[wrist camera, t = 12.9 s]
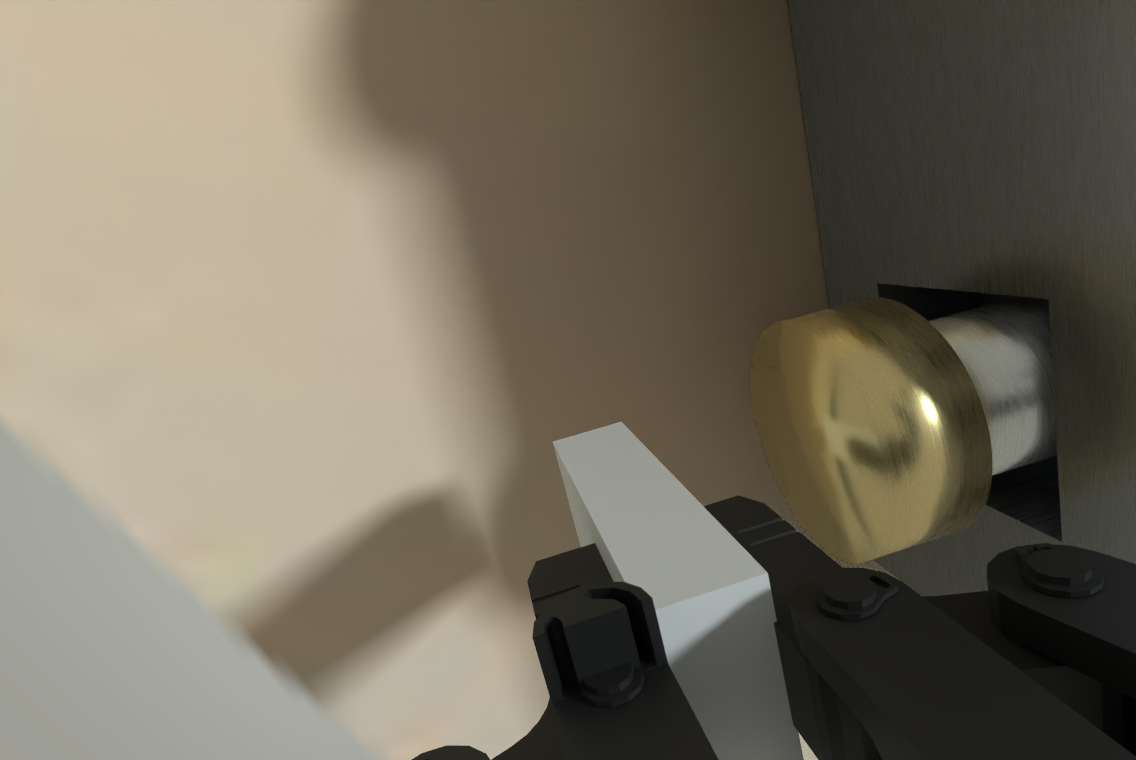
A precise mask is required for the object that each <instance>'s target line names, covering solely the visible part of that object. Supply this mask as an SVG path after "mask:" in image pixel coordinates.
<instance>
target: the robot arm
mask: <svg viewBox="0 0 1136 760" xmlns="http://www.w3.org/2000/svg"><path fill="white" fill-rule="evenodd" d="M553 445H554V449H555V453H556V457H557V460H558V464H559V468H560V472H561V475H562V479H563V483H564V487H565V491H566V494H567V498H568V502H569V506H570V509H571V513H572V517H573V521H574V524H575V528H576V532H577V536H578V540H579V543H580V547H581V548H577V549H574V550H571V551H568V552H565V553H561V554H558V555H555V556H552V557H549V558H546V559H542V560H539V561H536V563H535V565H534V568H533V570H532V572H531V574H530V577H529V579H528V581H527V582H528V586H529V590H530V595H531V599H532V603H533V608H534V612H535V617H536V620H535V622H534V629H533V640H534V644H535V647H536V651H537V654H538V657H539V661H540V664H541V668H542V671H543V674H544V678H545V681H546V685H547V688H548V691H549V695H550V699H549V702H548V706H547V709H546V710H545V712H544V714H543V715H542V717H541V719H540V720H539V722H538V723H537V724H536V725H535V726H534V727H533V729H532V730H531V731H530V732H529V733H528V734H527V735H526V736H525V737H523V738H522V739H521V740H519V741H518V742H517V743H516V744H514V745H513V746H512V747H510V748H509V749H507V750H506V751H504V752H503V753H501V754H499V755H498V756H496V757H495V758H493V759H492V760H803V755H802V750H801V744H800V739H799V734H798V732H799V733H800V734H801V736H802V737H803V739H804V740H805V741H806V743H807V744H808V746H809V747H810V748H811V750H812V751H813V753H814V754H815V755H816V757H817V758H818V760H1136V564H1134V563H1131V562H1128V561H1125V560H1121V559H1118V558H1115V557H1112V556H1109V555H1106V554H1103V553H1100V552H1096V551H1092V550H1088V549H1083V548H1079V547H1075V546H1070V545H1056V544H1049V543H1041V544H1033V545H1025V546H1017V547H1014V548H1011V549H1009V550H1006V551H1003V552H1001V553H998V554H997V555H996V556H995V557H994V558H993V559H992V560H991V561H990V562H989V563H988V564H987V584H988V591H980V592H970V593H961V594H951V595H941V596H921V595H919V594H918V593H917V592H915V591H914V590H913V589H911V588H910V587H909V586H907V585H906V584H905V583H903V582H902V581H900V580H898V579H896V578H894V577H892V576H890V575H888V574H886V573H883V572H878V571H874V570H869V569H865V568H842V567H841V566H840V565H838V564H837V563H836V562H835V561H833V560H832V559H831V558H830V557H829V556H827V555H826V554H825V553H824V552H823V551H821V550H820V549H819V548H818V547H816V546H815V545H814V544H813V543H812V542H810V541H809V540H808V539H807V538H806V537H804V536H803V535H802V534H801V533H799V532H796V530H795V528H793V527H792V526H791V525H790V524H789V523H787V522H786V521H785V520H784V521H782V519H781V517H780V516H779V515H778V514H776V513H775V512H774V511H773V510H772V509H770V508H769V507H768V506H767V505H765V504H764V503H761V502H758V501H755V500H751V499H748V498H745V497H742V496H739V495H738V496H735V497H732V498H729V499H726V500H723V501H719V502H716V503H713V504H710V505H707V506H703V505H702V504H701V503H700V502H699V501H698V500H697V499H696V498H695V497H694V496H693V495H692V494H691V493H690V492H689V491H688V490H687V489H686V488H685V487H684V486H683V485H682V484H681V483H680V482H679V481H678V480H677V479H676V478H675V476H674V475H673V474H672V473H671V472H670V471H669V470H668V469H667V468H666V467H665V466H664V465H663V464H662V463H661V462H660V461H659V460H658V459H657V458H656V457H655V456H654V455H653V454H652V453H651V452H650V451H649V450H648V449H647V448H646V446H645V445H644V444H643V443H642V442H641V441H640V440H639V439H638V438H637V437H636V436H635V435H634V434H633V433H632V432H631V431H630V430H629V429H628V428H627V427H626V426H625V425H624V424H623V423H622V422H618V423H615V424H611V425H608V426H604V427H601V428H597V429H594V430H591V431H587V432H584V433H580V434H577V435H574V436H570V437H567V438H563V439H560V440H557V441H553ZM412 760H490V759H489V757H488V756H487V754H485V753H483V752H481V751H479V750H477V749H475V748H473V747H470V746H444V747H441V748H437V749H434V750H431V751H428V752H425V753H422V754H420V755H419V756H417V757H415V758H414V759H412Z"/></svg>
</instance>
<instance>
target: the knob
mask: <svg viewBox="0 0 1136 760" xmlns="http://www.w3.org/2000/svg"><path fill="white" fill-rule="evenodd" d="M751 396H752V404H753V411H754V416H755V421H756V426H757V430H758V434H759V437H760V441H761V444H762V447H763V450H764V453H765V456H766V459H767V462H768V464H769V467H770V469H771V471H772V474H773V476H774V478H775V481H776V483H777V485H778V487H779V489H780V491H781V493H782V495H783V497H784V498H785V500H786V502H787V504H788V505H789V507H790V509H791V510H792V512H793V513H794V515H795V516H796V518H797V519H798V521H799V522H800V524H801V525H802V526H803V527H804V529H805V530H806V531H807V533H808V534H809V535H810V536H811V537H812V538H813V539H814V540H815V541H816V542H817V543H818V544H819V545H820V546H821V547H822V548H823V549H824V550H826V551H827V552H828V553H830V554H831V555H833V556H834V557H836V558H838V559H840V560H842V561H845V562H848V563H862V562H866V561H869V560H872V559H875V558H878V557H881V556H884V555H888V554H891V553H894V552H897V551H900V550H903V549H906V548H909V547H912V546H916V545H919V544H922V543H925V542H928V541H931V540H934V539H937V538H940V537H943V536H947V535H950V534H953V533H956V532H959V531H961V530H963V529H965V528H967V527H968V526H970V525H971V524H972V523H973V522H974V521H975V520H976V519H977V517H978V516H979V515H980V513H981V512H982V510H983V508H984V506H985V503H986V501H987V499H988V495H989V491H990V487H991V480H992V476H993V475H996V474H999V473H1002V472H1006V471H1009V470H1012V469H1015V468H1018V467H1022V466H1025V465H1028V464H1031V463H1034V462H1038V461H1041V460H1044V459H1047V458H1050V457H1053V456H1057V443H1056V425H1055V407H1054V389H1053V372H1052V354H1051V336H1050V318H1049V300H1048V299H1044V298H1033V297H1022V296H1017V297H1013V298H1009V299H1006V300H1002V301H999V302H995V303H991V304H988V305H984V306H981V307H977V308H973V309H970V310H966V311H963V312H959V313H955V314H952V315H948V316H945V317H941V318H937V319H934V320H930V321H928V320H926V319H925V318H924V317H923V316H921V315H920V314H919V313H917V312H916V311H914V310H913V309H911V308H909V307H908V306H906V305H904V304H902V303H899V302H897V301H894V300H891V299H886V298H876V297H872V298H867V299H862V300H858V301H855V302H851V303H847V304H844V305H840V306H836V307H833V308H829V309H825V310H822V311H818V312H814V313H810V314H807V315H803V316H799V317H796V318H792V319H788V320H785V321H781V322H777V323H774V324H772V325H770V326H768V327H767V328H766V329H765V330H764V331H763V332H762V334H761V335H760V336H759V338H758V340H757V343H756V345H755V348H754V352H753V356H752V363H751Z"/></svg>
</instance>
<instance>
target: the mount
mask: <svg viewBox="0 0 1136 760" xmlns="http://www.w3.org/2000/svg"><path fill="white" fill-rule="evenodd" d="M787 1H788V8H789V16H790V23H791V30H792V37H793V45H794V52H795V59H796V67H797V74H798V81H799V88H800V96H801V103H802V110H803V118H804V125H805V132H806V139H807V147H808V154H809V161H810V169H811V176H812V183H813V190H814V198H815V205H816V212H817V219H818V227H819V234H820V241H821V249H822V256H823V263H824V270H825V278H826V285H827V292H828V300H829V307H830V308H833V307H836V306H840V305H844V304H847V303H851V302H855V301H858V300H862V299H867V298H872V297H876V298H886V299H891V300H894V301H897V302H899V303H902V304H904V305H906V306H908V307H909V308H911V309H913V310H914V311H916V312H917V313H919V314H920V315H921V316H923V317H924V318H925V319H926V320H928V321H930V320H934V319H937V318H941V317H945V316H948V315H952V314H955V313H959V312H963V311H966V310H970V309H973V308H977V307H981V306H984V305H988V304H991V303H995V302H999V301H1002V300H1006V299H1009V298H1013V297H1017V296H1022V297H1033V298H1044V299H1048V300H1049V318H1050V336H1051V354H1052V372H1053V389H1054V407H1055V425H1056V443H1057V456H1053V457H1050V458H1047V459H1044V460H1041V461H1038V462H1034V463H1031V464H1028V465H1025V466H1022V467H1018V468H1015V469H1012V470H1009V471H1006V472H1002V473H999V474H996V475H993V476H992V480H991V487H990V491H989V495H988V499H987V501H986V503H985V506H984V508H983V510H982V512H981V513H980V515H979V516H978V517H977V519H976V520H975V521H974V522H973V523H972V524H971V525H970V526H968V527H967V528H965V529H963V530H961V531H959V532H956V533H953V534H950V535H947V536H943V537H940V538H937V539H934V540H931V541H928V542H925V543H922V544H919V545H916V546H912V547H909V548H906V549H903V550H900V551H897V552H894V553H891V554H888V555H884V556H881V557H878V558H875V559H873V560H874V561H876V562H877V563H878V564H880V565H881V566H882V567H884V568H885V569H886V570H888V571H889V572H890V573H892V574H893V575H894V576H896V577H897V578H898V579H900V580H901V581H902V582H904V583H905V584H906V585H908V586H909V587H910V588H912V589H913V590H914V591H916V592H917V593H918V594H920V595H921V596H941V595H951V594H961V593H970V592H980V591H988V584H987V564H988V563H989V562H990V561H991V560H992V559H993V558H994V557H995V556H996V555H997V554H998V553H1001V552H1003V551H1006V550H1009V549H1011V548H1014V547H1017V546H1025V545H1033V544H1041V543H1049V544H1056V545H1070V546H1075V547H1079V548H1083V549H1088V550H1092V551H1096V552H1100V553H1103V554H1106V555H1109V556H1112V557H1115V558H1118V559H1121V560H1125V561H1128V562H1131V563H1134V564H1136V0H787Z"/></svg>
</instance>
